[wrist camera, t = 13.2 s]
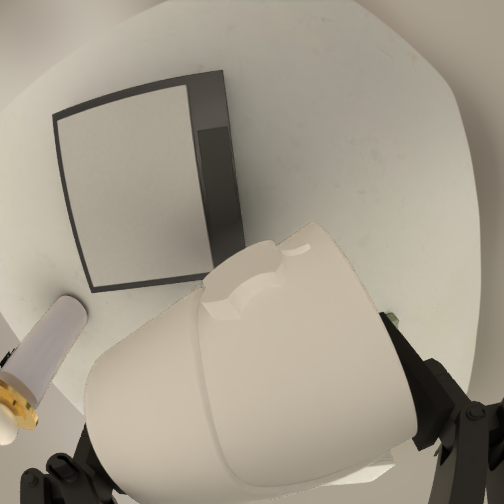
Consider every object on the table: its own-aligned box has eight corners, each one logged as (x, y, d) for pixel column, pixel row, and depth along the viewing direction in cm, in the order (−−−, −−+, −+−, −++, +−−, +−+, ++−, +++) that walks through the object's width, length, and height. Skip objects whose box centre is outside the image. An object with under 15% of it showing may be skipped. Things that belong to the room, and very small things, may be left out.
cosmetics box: (307, 435, 41) (321, 487, 31) (329, 412, 39) (348, 467, 29) (354, 438, 43) (371, 483, 34) (376, 417, 42) (398, 463, 32)
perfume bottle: (79, 282, 29) (-20, 414, 10) (102, 324, 31) (34, 466, 12) (46, 294, 29) (-47, 409, 10) (68, 333, 31) (-2, 457, 12)
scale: (223, 76, 23) (222, 67, 20) (247, 262, 29) (249, 277, 26) (64, 115, 22) (47, 114, 19) (99, 282, 29) (88, 297, 26)
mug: (108, 300, 13) (32, 436, 5) (290, 197, 12) (395, 294, 4) (236, 435, 17) (245, 542, 9) (371, 377, 16) (426, 481, 8)
